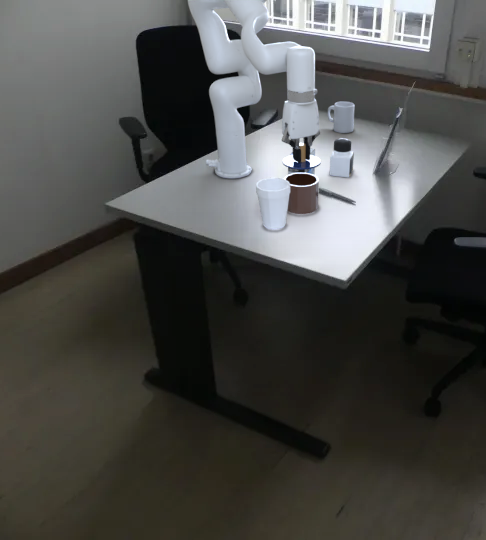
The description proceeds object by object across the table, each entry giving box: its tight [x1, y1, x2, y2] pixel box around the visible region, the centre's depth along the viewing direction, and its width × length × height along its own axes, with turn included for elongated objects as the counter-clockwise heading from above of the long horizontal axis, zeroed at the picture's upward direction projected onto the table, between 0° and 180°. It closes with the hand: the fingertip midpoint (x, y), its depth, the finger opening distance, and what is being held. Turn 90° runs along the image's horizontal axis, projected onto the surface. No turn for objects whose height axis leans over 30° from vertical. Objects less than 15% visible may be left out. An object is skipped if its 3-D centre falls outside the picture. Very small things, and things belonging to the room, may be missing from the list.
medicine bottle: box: [329, 137, 355, 178], centre depth 185 cm, size 7×7×12 cm
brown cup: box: [283, 173, 320, 215], centre depth 161 cm, size 10×10×10 cm
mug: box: [326, 101, 355, 134], centre depth 225 cm, size 12×8×11 cm
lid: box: [282, 142, 322, 170], centre depth 154 cm, size 11×11×6 cm
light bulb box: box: [287, 147, 316, 176], centre depth 177 cm, size 11×7×11 cm, turn 167°
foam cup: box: [255, 177, 290, 230], centre depth 150 cm, size 10×9×13 cm
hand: (301, 159), depth 155 cm, fingers closed on lid, 2 cm apart
